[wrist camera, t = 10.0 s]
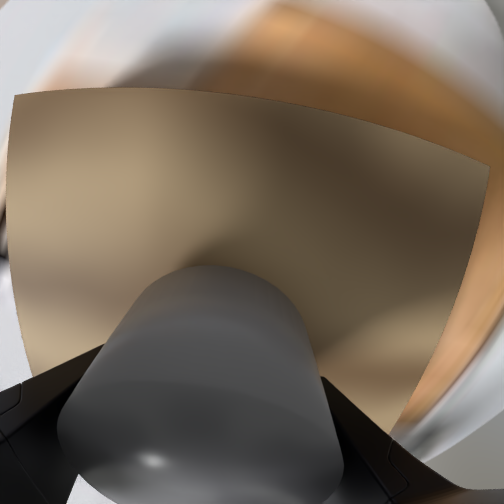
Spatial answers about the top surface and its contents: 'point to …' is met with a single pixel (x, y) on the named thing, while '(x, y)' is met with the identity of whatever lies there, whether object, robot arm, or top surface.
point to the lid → (239, 223)
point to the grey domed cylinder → (205, 399)
